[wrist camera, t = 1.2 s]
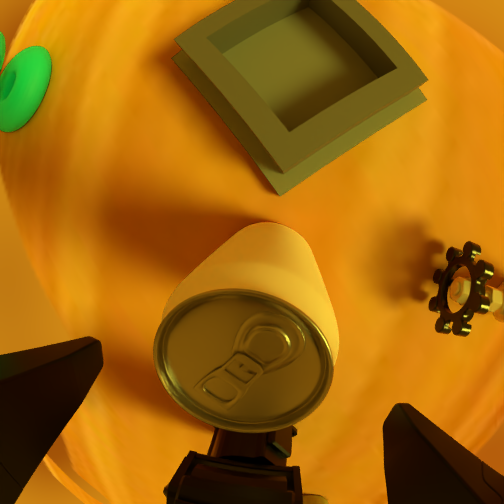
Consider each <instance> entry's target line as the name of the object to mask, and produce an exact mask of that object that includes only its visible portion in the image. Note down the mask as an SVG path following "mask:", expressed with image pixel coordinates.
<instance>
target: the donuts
mask: <svg viewBox="0 0 504 504" xmlns="http://www.w3.org/2000/svg"><path fill="white" fill-rule="evenodd" d="M5 49H6V45H5V38H4V35H3V34H2V33H1V32H0V72H1V69H2V65H3V61H4V57H5ZM51 69H52V62H51V57H50V54H49V52H48V51H47V50H46V49H45V48H43V47H41V46H32V47H28V48H26V49H24V50H22V51H21V52H20V53H18V54H17V55H16V56H15V57H14V58H13V59H12V60H11V61H10V62H9V63H8V65H7V66H6V68H5V69H4V71H3V72H2V74H1V76H0V130H1V131H3V132H13V131H16V130H18V129H19V128H21V127H22V126H24V125H25V124H26V123H27V122H28V121H29V120H30V118H31V117H32V116H33V114H34V113H35V112H36V110H37V108H38V107H39V105H40V103H41V101H42V99H43V97H44V95H45V92H46V90H47V87H48V84H49V80H50V76H51Z"/></svg>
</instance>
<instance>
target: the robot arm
mask: <svg viewBox="0 0 504 504" xmlns="http://www.w3.org/2000/svg"><path fill="white" fill-rule="evenodd" d="M102 367H103V354H102V345H101V342H100V341H99V340H97V339H95V338H93V337H90V336H87V337H83V338H79V339H74V340H70V341H66V342H62V343H57V344H52V345H47V346H43V347H39V348H34V349H28V350H24V351H19V352H13V353H8V354H3V355H0V504H15V502H16V500H17V499H18V497H19V496H20V494H21V492H22V491H23V488H24V487H25V485H26V484H27V483H28V481H29V479H30V478H31V476H32V475H33V473H34V472H35V470H36V469H37V467H38V465H39V464H40V463H41V461H42V460H43V458H44V457H45V455H46V454H47V452H48V451H49V449H50V448H51V446H52V445H53V443H54V442H55V440H56V439H57V437H58V436H59V435H60V433H61V432H62V430H63V429H64V427H65V426H66V425H67V423H68V422H69V420H70V419H71V418H72V416H73V415H74V413H75V412H76V411H77V409H78V408H79V406H80V405H81V404H82V402H83V400H84V399H85V397H86V395H87V394H88V392H89V390H90V388H91V386H92V385H93V383H94V381H95V379H96V378H97V376H98V374H99V373H100V371H101V369H102ZM214 427H215V426H214ZM215 428H216V429H215V432H214V435H213V438H212V441H211V444H210V447H209V450H208V453H207V455H204V454H199V453H197V452H195V451H191V450H190V452H189V453H188V455H187V457H185V458H184V459H183V461H182V463H181V464H180V466H179V468H178V469H177V471H176V473H175V474H174V476H173V478H172V479H171V481H170V482H169V484H168V485H167V486H166V487H165V488H164V491H163V493H164V495H165V496H166V498H167V502H166V504H303V494H302V485H301V475H300V467H299V466H292V467H289V466H286V462H287V458H288V457H290V456H291V448H292V437H294V436H296V435H297V429H296V428H295V427H294V426H293V425H291V426H289V427H286V428H283V429H280V430H276V431H271V432H264V433H241V432H234V431H229V430H224V429H221V428H218V427H215ZM383 445H384V470H385V479H386V487H387V497H388V504H504V476H503V475H501V474H499V473H498V472H496V471H495V470H494V469H492V468H491V467H490V466H488V465H487V464H485V463H484V462H483V461H481V460H480V459H479V458H478V457H476V456H475V455H474V454H472V453H471V452H470V451H469V450H467V449H466V448H465V447H463V446H462V445H461V444H459V443H458V442H457V441H456V440H454V439H453V438H452V437H450V436H449V435H448V434H447V433H445V432H444V431H443V430H441V429H440V428H439V427H438V426H436V425H435V424H434V423H433V422H431V421H430V420H429V419H428V418H426V417H425V416H424V415H423V414H421V413H420V412H419V411H418V410H416V409H415V408H414V407H413V406H411V405H410V404H408V403H397V404H395V405H394V407H393V408H392V410H391V411H390V413H389V415H388V416H387V418H386V419H385V421H384V424H383Z"/></svg>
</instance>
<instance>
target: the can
mask: <svg viewBox="0 0 504 504" xmlns="http://www.w3.org/2000/svg"><path fill="white" fill-rule="evenodd" d="M338 349H339V334H338V326H337V322H336V318H335V314H334V311H333V308H332V305H331V302H330V299H329V296H328V293H327V290H326V287H325V285H324V282H323V279H322V276H321V274H320V271H319V268H318V266H317V263H316V261H315V258H314V256H313V253H312V251H311V249H310V247H309V245H308V243H307V242H306V240H305V239H304V238H303V237H302V236H301V235H300V234H298V233H297V232H296V231H294V230H292V229H291V228H289V227H287V226H284V225H282V224H278V223H273V222H261V223H255V224H252V225H249V226H247V227H245V228H243V229H241V230H240V231H238V232H237V233H235V234H234V235H233V236H232V237H231V238H229V239H228V240H227V241H226V242H225V243H224V244H222V245H221V246H220V247H219V248H218V249H217V250H215V251H214V252H213V253H212V254H211V255H210V256H209V257H207V258H206V259H205V260H204V261H203V262H202V263H201V264H200V265H198V266H197V267H196V268H195V269H194V270H193V271H192V272H191V273H190V274H189V275H188V276H187V277H186V278H185V279H184V280H183V281H182V282H181V283H180V284H179V285H178V286H177V287H176V289H175V290H174V292H173V293H172V295H171V296H170V298H169V299H168V301H167V303H166V306H165V308H164V311H163V315H162V320H161V324H160V326H159V328H158V330H157V333H156V336H155V339H154V346H153V358H154V364H155V368H156V371H157V374H158V377H159V379H160V381H161V383H162V385H163V386H164V388H165V390H166V391H167V392H168V394H169V395H170V396H171V397H172V399H173V400H174V401H175V402H176V403H177V404H178V405H179V406H180V407H182V408H183V409H184V410H185V411H187V412H188V413H189V414H191V415H192V416H194V417H196V418H197V419H199V420H201V421H203V422H205V423H207V424H210V425H212V426H215V427H218V428H221V429H224V430H229V431H234V432H241V433H264V432H271V431H276V430H280V429H283V428H286V427H289V426H291V425H293V424H296V423H297V422H299V421H301V420H303V419H304V418H306V417H307V416H309V415H310V414H311V413H312V412H313V411H314V410H315V409H316V408H317V407H318V406H319V405H320V404H321V403H322V401H323V400H324V398H325V397H326V395H327V393H328V391H329V389H330V386H331V383H332V379H333V371H334V365H335V362H336V359H337V355H338Z"/></svg>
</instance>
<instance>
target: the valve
mask: <svg viewBox="0 0 504 504" xmlns="http://www.w3.org/2000/svg"><path fill="white" fill-rule="evenodd" d="M462 254H463V255H462ZM476 254H478V255H480V254H481V248H480V246H479V245H478V244H475V243H473V242H471V241H468V242H466V243H465V245H464V247H463V252H462V250H460V249H457V248H454V247H450V248H449V249H448V250H447V253H446V259H447V261H448V266H447V268H446V269H445V271H444V270H441V269H437V270H436V271H435V273H434V276H433V281H434V283H436V284H438V285H439V289H438V294H437V296H436V297H435V296H434V297H432V298H431V299H430V301H429V310H430V311H432V312H437V313H440V317H439V318H438V319H437V321H436V324H435V330H436V332H438V333H443V334H449V333H450V332H451V330H452V332H453V334H454V335H457V336H463V337H466V336H467V335H468V334H469V333H470V331H471V325H469V324H467V322H469V321H470V320H471V319H472V317H473V315H474V313H479V314H485V313H487V311H490V312H493V315H494V317H495V319H496V320H498V321H500V322H504V281H503V282H502V283H501V285H500V286H499V287H498V289H496V288H494V287H491V286H488V285H486V286H485V284H486V282H487V279H489V280H490V279H491V278H492V276H493V273H494V267H493V265H492V264H491V263H489V262H487V261H484V260H479V261H478V262H477V263H476V262H475V261H474V257H475V255H476ZM461 255H462V256H461ZM462 266H466V267H467V268H468V270H469V272H470V275H471V278H470V277H465V278H462V277H459V276H457V277H456V278H455V279H453V278H452V277H453V275H454V273H455V272H456V271H457V270H458V269H459V268H461V267H462ZM449 286H451V287H450V298H451V299H453V300H454V301H456V302H458V303H459V304H460V305H463V307H462V308H461V309H460V310H459V311H457V312H456V313H452V312H451V311H450V309H449V306H448V302H447V292H448V287H449ZM450 322H453V325H452V329H451V328H450V327H449V324H450Z"/></svg>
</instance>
